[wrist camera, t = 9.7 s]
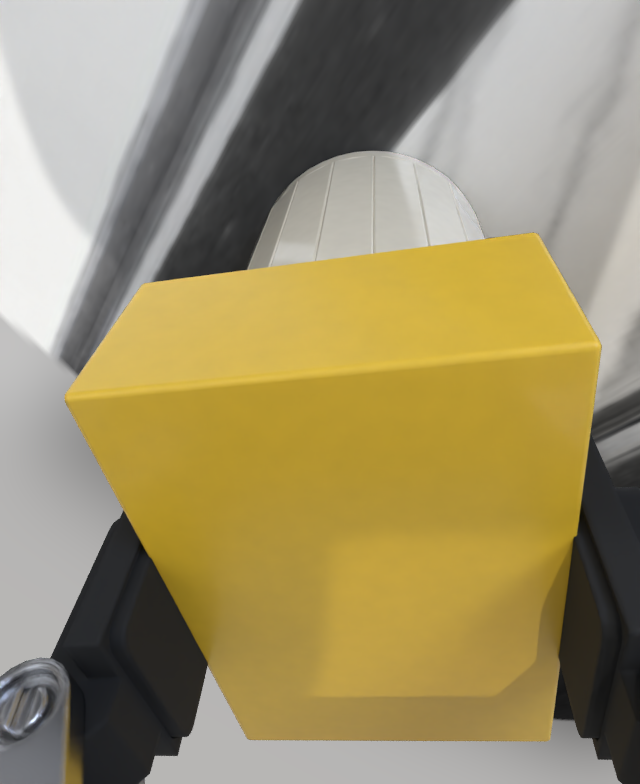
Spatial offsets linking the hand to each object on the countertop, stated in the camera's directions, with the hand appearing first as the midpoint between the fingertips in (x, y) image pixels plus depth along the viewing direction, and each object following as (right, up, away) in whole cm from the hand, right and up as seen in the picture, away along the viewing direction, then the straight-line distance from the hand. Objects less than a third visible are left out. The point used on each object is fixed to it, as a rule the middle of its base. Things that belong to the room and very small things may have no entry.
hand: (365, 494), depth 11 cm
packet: (0, 0, 0) cm, 1 cm away
